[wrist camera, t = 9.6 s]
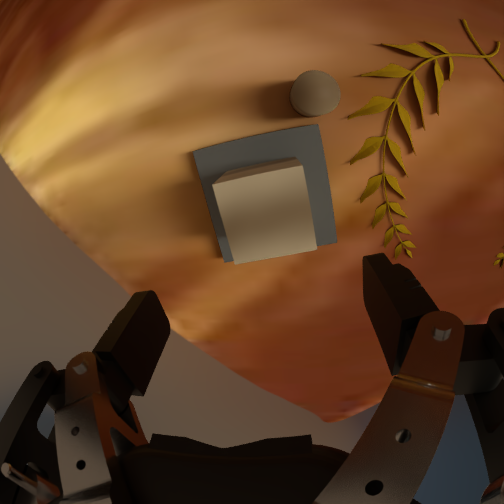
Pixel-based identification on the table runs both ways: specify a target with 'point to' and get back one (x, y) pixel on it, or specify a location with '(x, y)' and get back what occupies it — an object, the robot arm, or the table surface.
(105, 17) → the table surface
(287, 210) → the metal cube
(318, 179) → the slate coaster
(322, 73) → the cork cylinder
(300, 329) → the table surface
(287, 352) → the table surface
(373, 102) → the yellow leafy sprig
